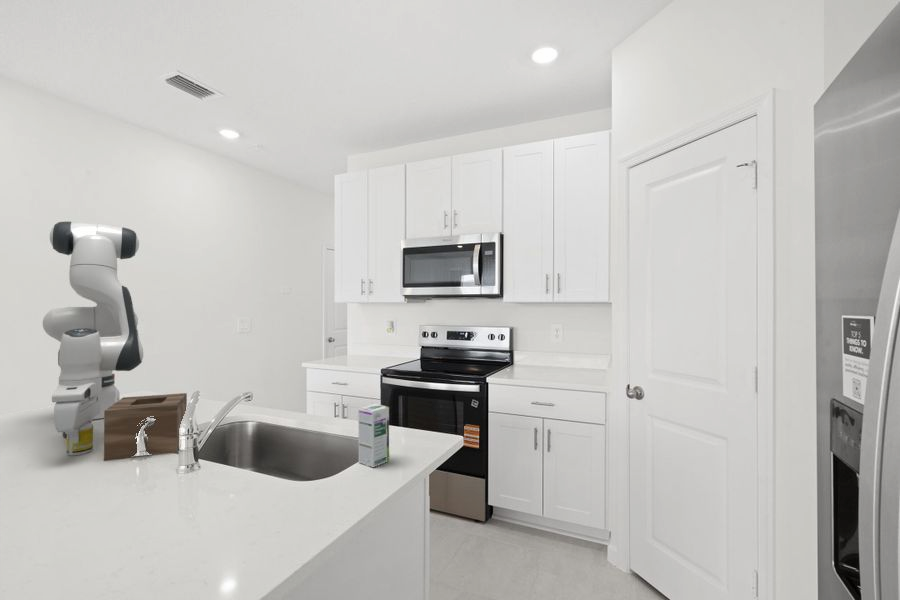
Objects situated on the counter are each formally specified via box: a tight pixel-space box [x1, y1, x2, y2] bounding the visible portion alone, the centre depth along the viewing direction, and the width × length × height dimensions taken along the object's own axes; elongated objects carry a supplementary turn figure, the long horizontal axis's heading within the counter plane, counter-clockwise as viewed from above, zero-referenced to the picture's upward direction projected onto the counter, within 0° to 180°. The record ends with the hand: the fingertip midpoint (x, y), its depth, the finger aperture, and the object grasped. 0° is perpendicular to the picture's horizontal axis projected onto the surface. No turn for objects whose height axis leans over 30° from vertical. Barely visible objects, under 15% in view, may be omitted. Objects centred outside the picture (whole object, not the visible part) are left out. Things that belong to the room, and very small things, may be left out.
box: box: [103, 392, 188, 462], centre depth 119 cm, size 16×16×13 cm
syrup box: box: [357, 403, 390, 468], centre depth 109 cm, size 6×6×14 cm
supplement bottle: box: [66, 415, 94, 456], centre depth 114 cm, size 5×5×10 cm
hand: (80, 439), depth 114 cm, fingers closed on supplement bottle, 5 cm apart
